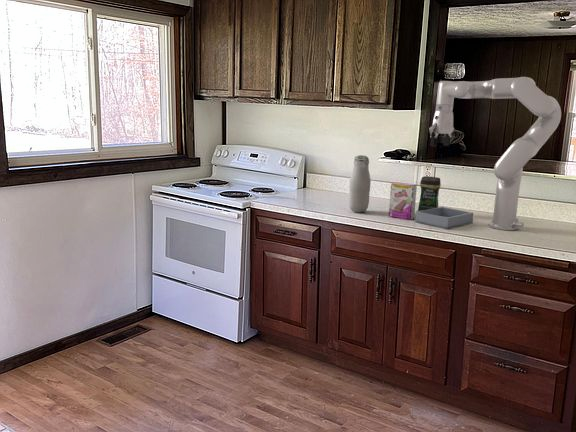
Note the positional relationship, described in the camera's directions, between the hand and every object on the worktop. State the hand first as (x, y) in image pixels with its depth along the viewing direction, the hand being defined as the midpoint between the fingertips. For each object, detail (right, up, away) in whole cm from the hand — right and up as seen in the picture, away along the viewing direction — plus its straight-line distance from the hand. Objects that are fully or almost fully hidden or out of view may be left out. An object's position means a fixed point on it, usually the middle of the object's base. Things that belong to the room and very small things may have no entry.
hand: (439, 146), depth 257 cm
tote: (+1, -36, -3) cm, 36 cm away
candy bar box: (-17, -34, +5) cm, 38 cm away
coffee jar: (-2, -32, +15) cm, 35 cm away
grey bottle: (-36, -31, +16) cm, 50 cm away
